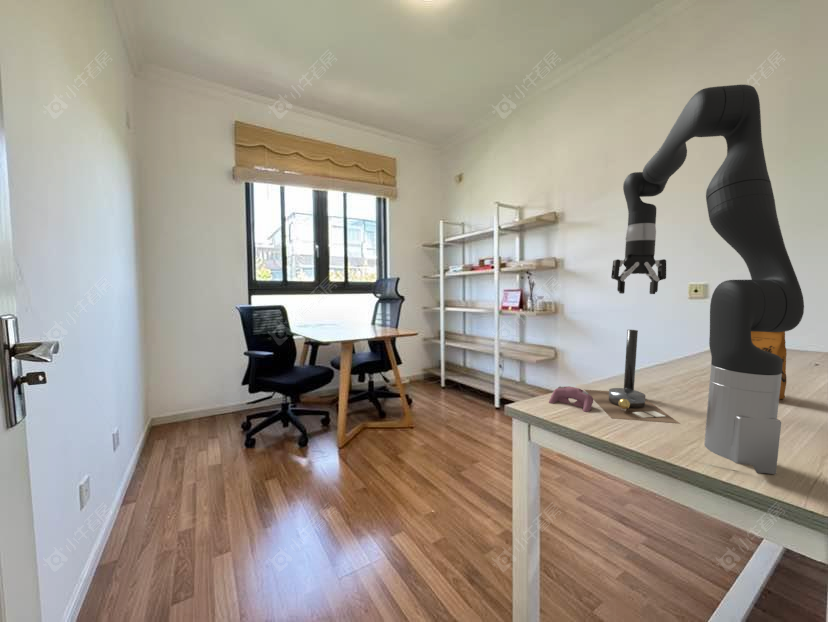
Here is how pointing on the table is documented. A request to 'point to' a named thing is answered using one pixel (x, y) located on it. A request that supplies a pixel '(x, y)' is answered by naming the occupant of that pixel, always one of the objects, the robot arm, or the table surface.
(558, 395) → the video game controller
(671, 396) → the table surface
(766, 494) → the table surface
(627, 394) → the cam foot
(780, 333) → the coffee package
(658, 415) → the walnut board
